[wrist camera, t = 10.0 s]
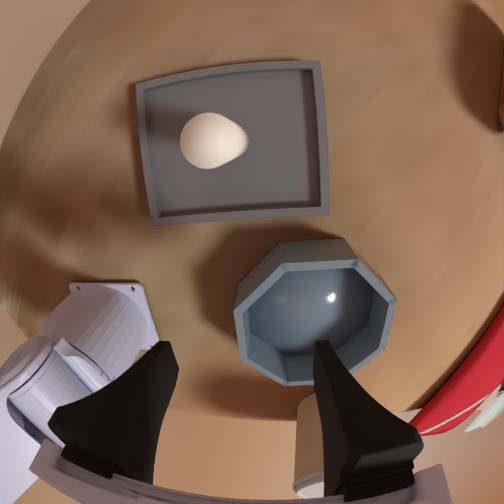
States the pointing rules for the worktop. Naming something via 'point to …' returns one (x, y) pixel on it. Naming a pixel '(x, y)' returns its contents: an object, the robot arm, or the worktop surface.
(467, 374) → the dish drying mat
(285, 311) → the blue-grey octagonal bowl
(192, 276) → the worktop surface
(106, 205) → the worktop surface
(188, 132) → the dowel pin
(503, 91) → the tin
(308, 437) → the coffee cup
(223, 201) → the tray
